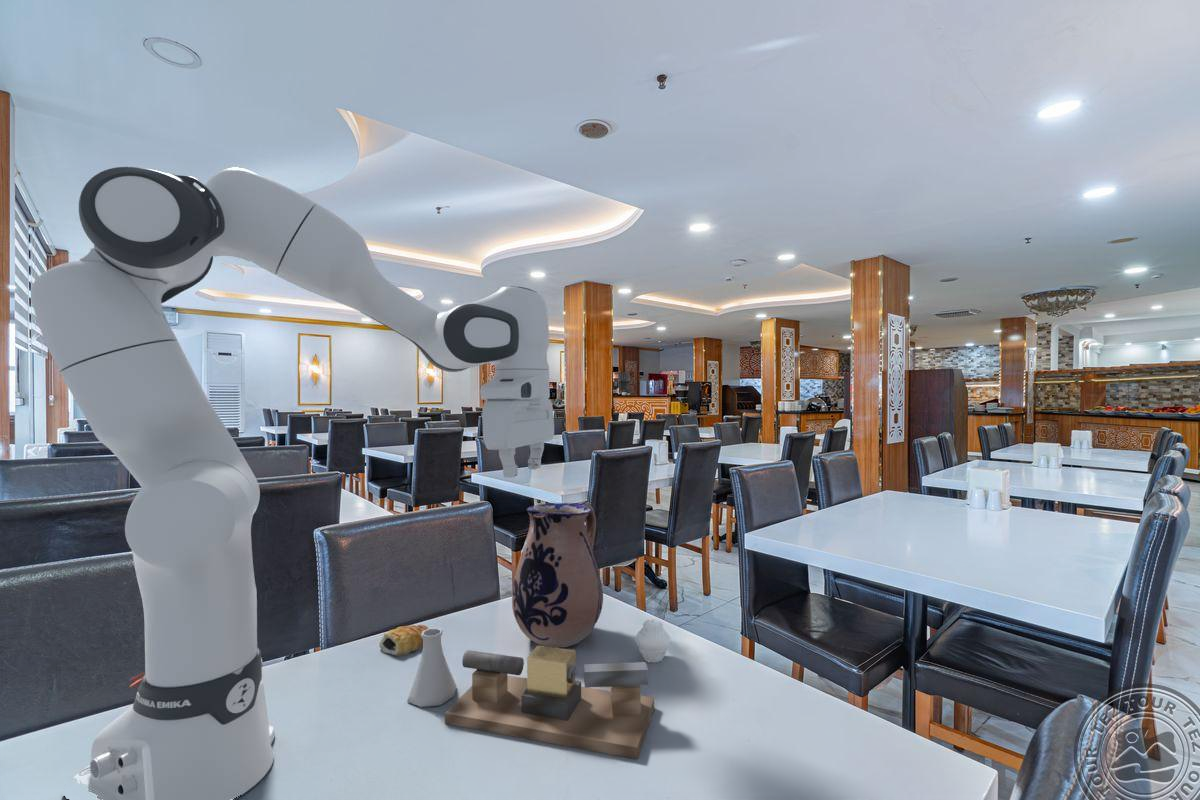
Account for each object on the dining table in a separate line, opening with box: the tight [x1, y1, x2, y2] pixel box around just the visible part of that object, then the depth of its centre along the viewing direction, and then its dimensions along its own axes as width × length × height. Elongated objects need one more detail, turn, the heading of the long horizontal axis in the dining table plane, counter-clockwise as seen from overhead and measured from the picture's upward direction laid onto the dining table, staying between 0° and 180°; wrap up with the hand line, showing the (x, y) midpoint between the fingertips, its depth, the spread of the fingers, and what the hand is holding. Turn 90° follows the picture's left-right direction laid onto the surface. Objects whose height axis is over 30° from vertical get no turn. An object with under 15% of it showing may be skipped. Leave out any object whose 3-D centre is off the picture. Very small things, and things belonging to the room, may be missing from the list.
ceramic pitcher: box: [511, 501, 604, 649], centre depth 107 cm, size 18×21×25 cm
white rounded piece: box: [635, 618, 671, 663], centre depth 97 cm, size 6×6×7 cm
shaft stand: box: [444, 649, 655, 760], centre depth 80 cm, size 28×12×8 cm, turn 74°
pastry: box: [378, 624, 429, 656], centre depth 103 cm, size 9×7×4 cm
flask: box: [407, 627, 457, 708], centre depth 85 cm, size 7×7×10 cm
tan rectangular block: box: [526, 645, 577, 699], centre depth 80 cm, size 7×4×5 cm, turn 74°
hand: (523, 472), depth 89 cm, fingers open, 8 cm apart
